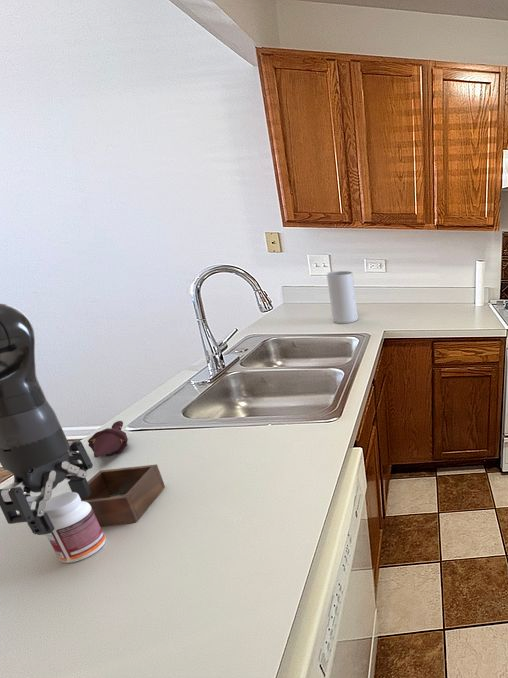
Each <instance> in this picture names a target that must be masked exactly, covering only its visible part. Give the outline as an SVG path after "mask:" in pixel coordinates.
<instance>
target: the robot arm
mask: <svg viewBox="0 0 508 678" xmlns="http://www.w3.org/2000/svg"><path fill="white" fill-rule="evenodd" d="M35 337H36V336H35V330H34V327H33V324H32V322H31V320H30V319H29V317H28V316H27V315H26V314H25V313H24V312H23V311H22V310H20V309H18V308H17V307H14V306H13V305H10V304H7V303H0V465H1V467H2V469H4V470H6V471H7V472H10V473H11V474H12V475H13V483H12V484H11V485H9V486H7V487H5V488H0V509H1V512H2V514H3V516H4V518H5V520H6V522H7V524H9V525H14V524H19V523H27V525H28V527H29V528H30V531H31V533H32V534H33V535H38V536H41V535H46V534H50V533H51V532H52V531H53V530H54V529H55V528H54V526H53V524H52V522H51V520H50V518H49V516H48V514H47V512H45V507H46V501H47V500H49V499H51V498H52V497H51V496H52V491H53V490H55V488H56V487H57V486H58V484H60V483H62V482H63V481H65V480H67V484H68V487H69V489H70V492H76V493H78V495H79V496H80V498H87V497H89V496H90V495H91V491H90V486H89V484H88V480H87V477H88V473H87V472H88V470H91V469H92V468H93V462H92V460H91V458H90V456H89V454H88V452H87V451H86V448H85V446H84V444H83V442H82V441H80V440H77V441H75V440H74V441H69V440H68V439H67V436H66V434H65V432H64V429H63V427H62V425H61V423H60V421H59V418H58V416H57V413H56V411H55V410H54V409H53V407H52V406H51V404H50V403H49V401H48V399H47V397H46V395H45V392H44V389H43V388H42V386H41V384H40V382H39V378H38V377H37V369H36V367H37V366H36V357H35V356H36V355H35V354H36V353H35V351H36V338H35ZM80 461H81V462H80ZM31 493H37V494H38V493H40V494H39V495H36V496H35V495H34V496H31ZM34 502H35V507H34V508H32V505H33V503H34ZM18 512H19V513H18Z"/></svg>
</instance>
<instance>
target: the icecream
mask: <svg viewBox="0 0 508 678" xmlns="http://www.w3.org/2000/svg"><path fill="white" fill-rule="evenodd" d="M123 426H124V422H123V421H122V420H117V421H115V422H113V423H112V425H111V427H106V428H104V429H102V430H100V431H96V432H95V433H94V434H93V435H92V436H91V437H89V438H88V439H87V443H88V447H89V448H90V449H91V450H92V451H93V458H95V459H96V458H99V457H102V456H104V457H110V455H111V456H115V455H119V454H121V453H122V452H123V451H124V450H125V449H126V448H127V447H128V440H129V439H128V435H127V433H126V432H125V431H123V430H122V428H123ZM114 454H115V455H114Z"/></svg>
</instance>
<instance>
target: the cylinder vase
mask: <svg viewBox="0 0 508 678" xmlns="http://www.w3.org/2000/svg"><path fill="white" fill-rule="evenodd" d="M326 280H327V288H328V293H329V301H330V307H331V314H332V321H333V322H334V323H336V324H351V323H354V322H357V321H358V319H359V317H358V308H357V300H356V291H355V282H354V274H353V271H348V270H340V271H337V270H336V271H330V272H327V273H326Z"/></svg>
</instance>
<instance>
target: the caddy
mask: <svg viewBox="0 0 508 678" xmlns="http://www.w3.org/2000/svg"><path fill="white" fill-rule="evenodd" d="M87 482H88V484H89V486H90V491H91V495H90V496H89V497H87V498H81V501H84V502H87V503H89V504H90V506H91V507H92V509H93V512H94V514H95V516H96V518H97V520H98V522H99V524H100V527H101V528H103V527H109V526H110V527H111V526H119V525H126V524H127V525H128V524H134V523H138V521H139V520H140V519H141V518H142V517H143V515H144V514H145V513H146V511H147V510H148V509H149V508H150V506H151V505H152V504H153V503H154V501H155V500H156V499H157V498H158V497H159V495H160V494H161V493H162V491H163V490H164V489H165V488H166V485H165V482H164V480H163V476H162V474H161V472H160V468H159V466H158V464H148V465H140V466H130V467H120V468H110V469H101V470H99V471H98V472H96V473H95V474H94V476H92V477H90V479H89V480H87ZM117 495H118V496H117Z"/></svg>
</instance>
